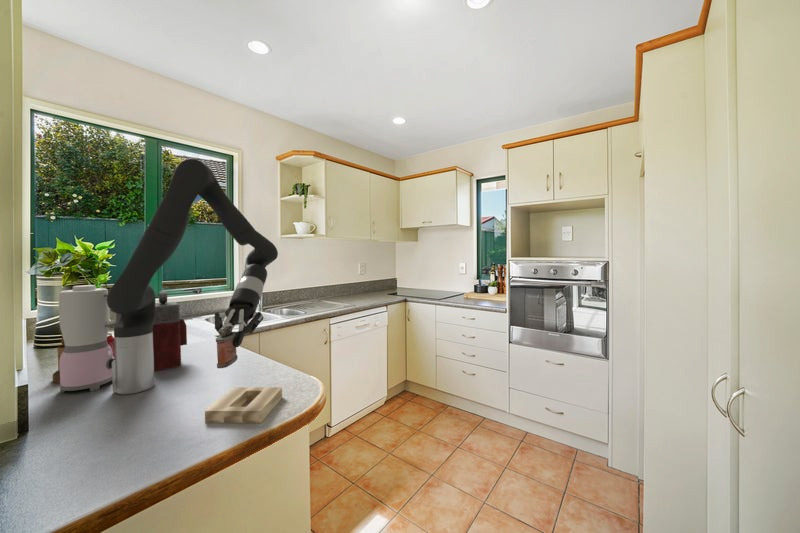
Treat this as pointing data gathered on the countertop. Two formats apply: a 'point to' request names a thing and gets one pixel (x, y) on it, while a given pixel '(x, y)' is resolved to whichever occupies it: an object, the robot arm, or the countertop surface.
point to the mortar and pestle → (60, 350)
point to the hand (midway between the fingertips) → (228, 345)
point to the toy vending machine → (168, 334)
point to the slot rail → (255, 412)
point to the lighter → (226, 347)
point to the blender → (85, 338)
